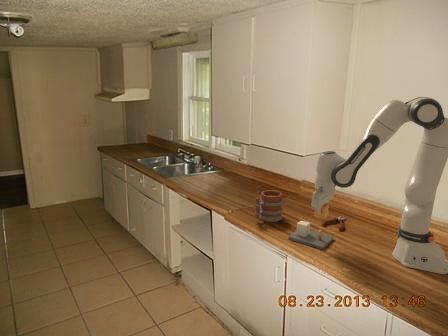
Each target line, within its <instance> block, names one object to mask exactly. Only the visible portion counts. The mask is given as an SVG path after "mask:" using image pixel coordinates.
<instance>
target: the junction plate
mask: <svg viewBox="0 0 448 336" xmlns="http://www.w3.org/2000/svg"><path fill="white" fill-rule="evenodd" d="M287 239H288V240H290V241H293V242H297V243H300V244H303V245H307V246H309V247H313V248H315V249H319V250H324V249H326V247H328V245H329V244H330V243H332V241H333V240H334V236H332V235H329V234H325V233H323V230H322V229H318V231H316V230H311V222H307V221H305V220H300V221H298V222H296V230H295V231H294V232H292V233H291V234H289V235H288V238H287Z"/></svg>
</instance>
